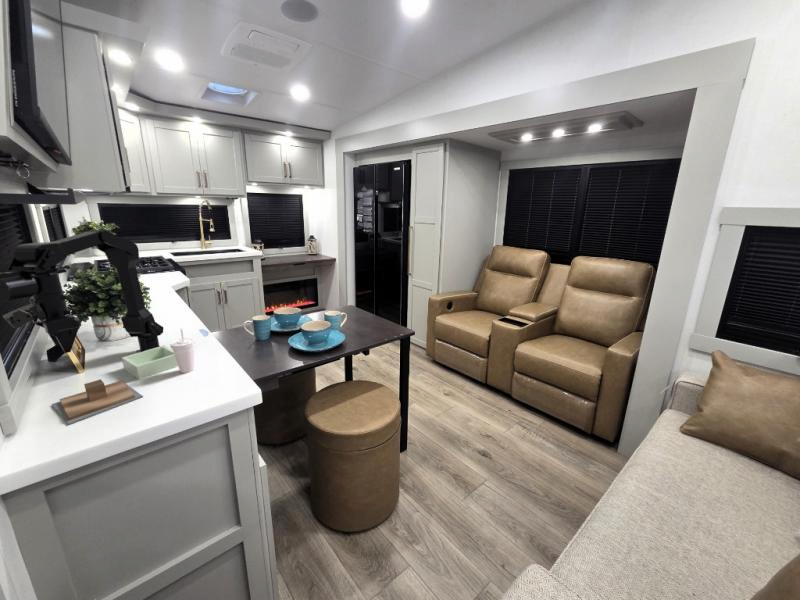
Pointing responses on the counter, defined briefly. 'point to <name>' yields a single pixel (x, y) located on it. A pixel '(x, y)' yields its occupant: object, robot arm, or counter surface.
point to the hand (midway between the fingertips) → (63, 348)
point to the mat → (62, 412)
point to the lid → (95, 398)
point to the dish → (150, 362)
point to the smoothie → (184, 353)
